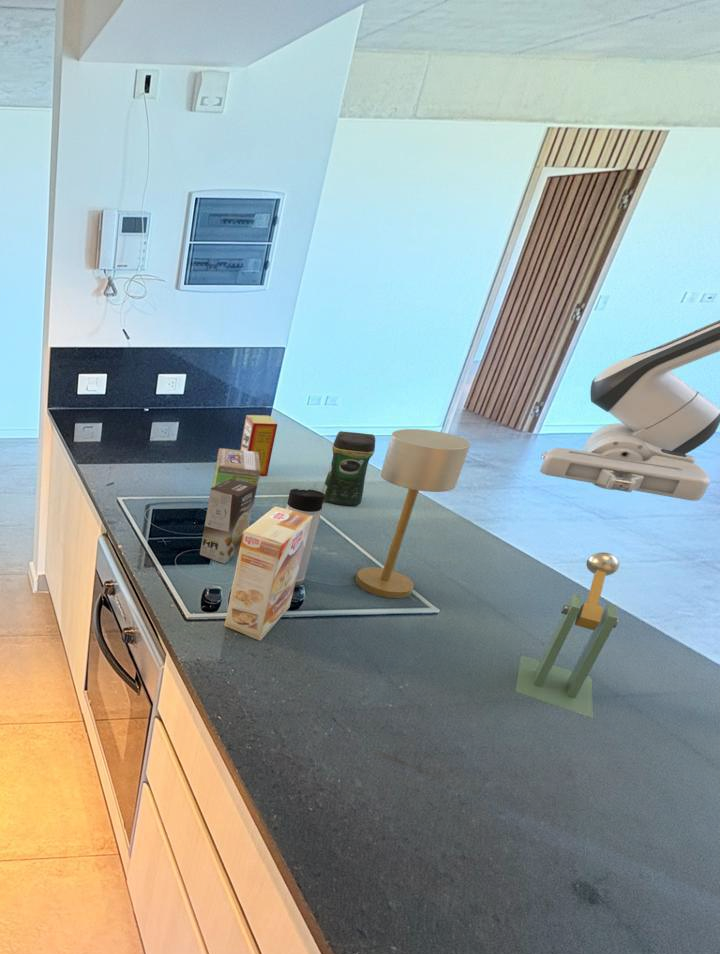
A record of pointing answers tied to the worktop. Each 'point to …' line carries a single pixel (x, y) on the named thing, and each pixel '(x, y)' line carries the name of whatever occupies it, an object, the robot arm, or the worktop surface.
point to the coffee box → (227, 519)
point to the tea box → (237, 466)
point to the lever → (596, 589)
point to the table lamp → (413, 493)
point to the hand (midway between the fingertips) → (621, 486)
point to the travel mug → (312, 506)
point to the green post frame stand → (560, 682)
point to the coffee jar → (348, 468)
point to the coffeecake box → (267, 571)
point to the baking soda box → (259, 438)
